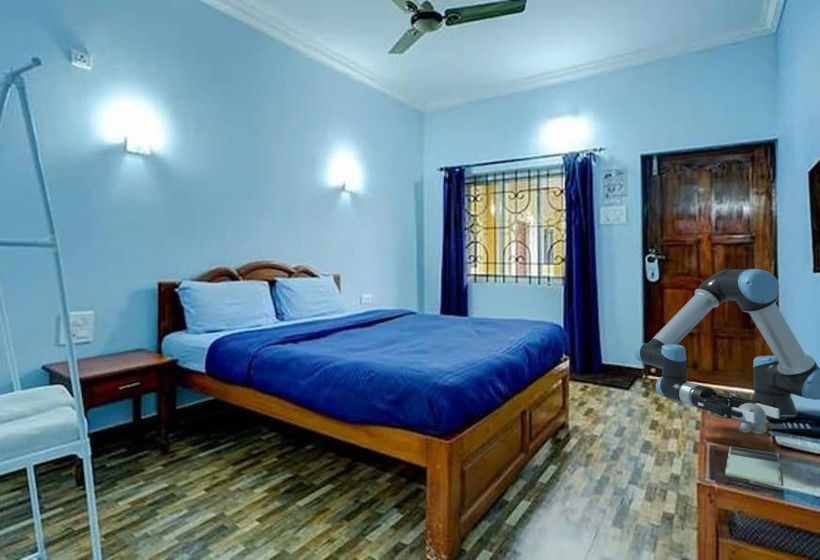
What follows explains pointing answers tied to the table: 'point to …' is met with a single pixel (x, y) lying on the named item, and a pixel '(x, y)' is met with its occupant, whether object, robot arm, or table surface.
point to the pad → (753, 468)
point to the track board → (754, 458)
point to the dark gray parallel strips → (754, 453)
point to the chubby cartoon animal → (759, 417)
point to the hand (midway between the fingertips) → (766, 415)
